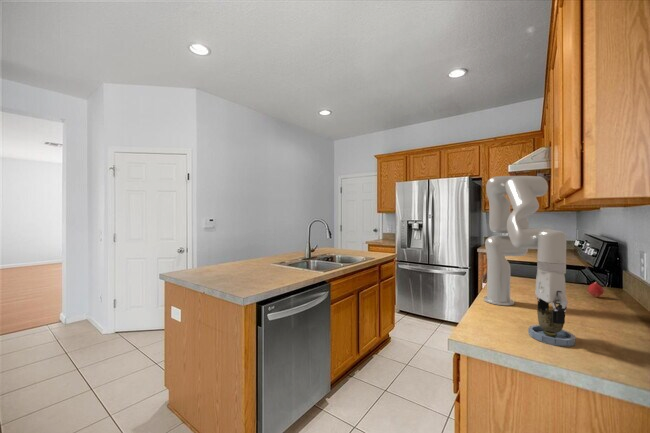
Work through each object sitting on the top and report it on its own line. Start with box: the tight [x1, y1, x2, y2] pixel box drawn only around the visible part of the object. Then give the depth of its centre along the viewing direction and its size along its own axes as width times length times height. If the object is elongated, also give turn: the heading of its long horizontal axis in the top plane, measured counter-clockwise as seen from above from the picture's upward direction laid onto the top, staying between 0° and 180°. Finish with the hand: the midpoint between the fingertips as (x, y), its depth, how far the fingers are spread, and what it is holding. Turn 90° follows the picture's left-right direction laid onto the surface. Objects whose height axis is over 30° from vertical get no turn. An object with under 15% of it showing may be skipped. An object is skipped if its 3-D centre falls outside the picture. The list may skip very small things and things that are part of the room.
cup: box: [536, 308, 565, 337], centre depth 95 cm, size 8×7×8 cm
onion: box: [587, 281, 605, 298], centre depth 144 cm, size 6×6×8 cm
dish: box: [528, 324, 576, 348], centre depth 95 cm, size 12×12×2 cm
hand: (550, 317), depth 95 cm, fingers open, 9 cm apart
